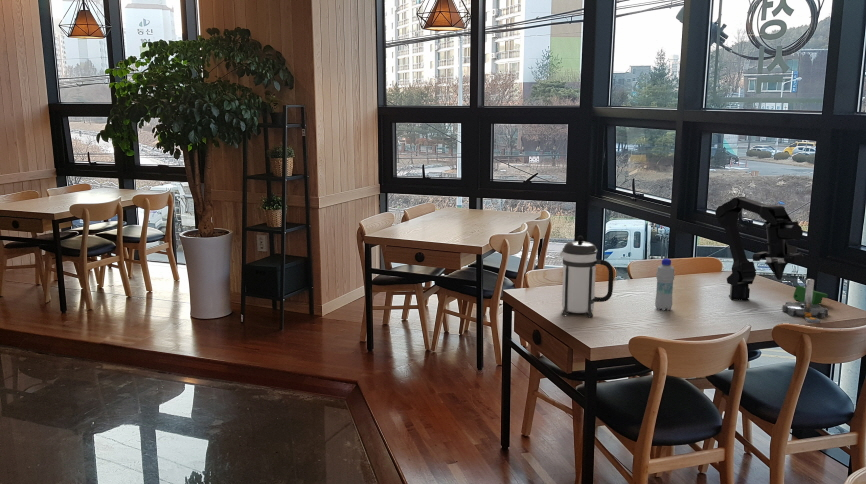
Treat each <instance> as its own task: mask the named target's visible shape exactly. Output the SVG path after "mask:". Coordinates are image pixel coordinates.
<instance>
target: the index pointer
mask: <svg viewBox="0 0 866 484" xmlns="http://www.w3.org/2000/svg"><path fill="white" fill-rule="evenodd" d="M804 320H805V321H806V322H807V323H813V324H815V323H816V324H819V323H821V320H820V318H819V317H816V318H813V317H810V318H805V317H804Z"/></svg>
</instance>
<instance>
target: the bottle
mask: <svg viewBox="0 0 866 484" xmlns="http://www.w3.org/2000/svg"><path fill="white" fill-rule="evenodd" d="M655 275H656V291H655V292H656V293H655V303H654V306H655V308H656V309H657V310H658V311H661V310H662V311H663V312H664V311H665V310H666V311H669V310H672V307H673V291H674V280H675V277H676V274H675V268H674V266H673V265H672V260H671V259H669V258H663V259H662V260H661V265H658V266H657V270H656V274H655Z"/></svg>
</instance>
